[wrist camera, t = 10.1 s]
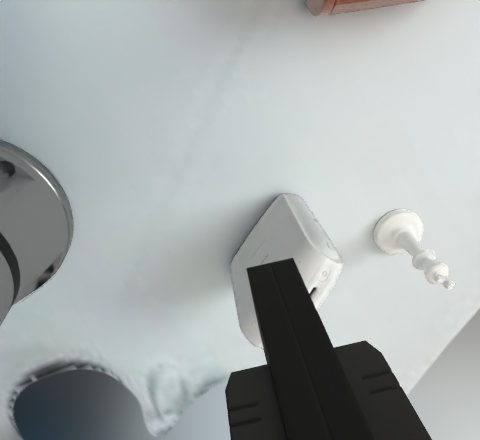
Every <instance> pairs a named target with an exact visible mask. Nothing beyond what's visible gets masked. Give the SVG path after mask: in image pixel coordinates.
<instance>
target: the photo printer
mask: <svg viewBox="0 0 480 440" xmlns="http://www.w3.org/2000/svg"><path fill="white" fill-rule="evenodd" d="M289 258H293V259H294V261H295V263H296V265H297V268H298V270H299V272H300V274H301V277H302V279H303V281H304V283H305V285H306V288H307V290H308V292H309V294H310V297H311V299H312V301H313V303H314V305H315V308H316V310H318V309H319V308H320V306H321V305H322V303H323V302H324V301H325V299H326V298H327V296H328V295H329V293H330V291H331V290H332V288H333V286H334V285H335V283H336V281H337V279H338V277H339V275H340V273H341V270H342V267H343V265H344V260H343V258H342V257H341V255H340V254H339V252H338V251H337V249H336V247H335V246H334V244H333V243H332V241H331V240H330V238H329V237H328V235H327V234H326V232H325V231H324V229H323V228H322V226H321V224H320V223H319V221H318V220H317V218H316V217H315V215H314V213H313V212H312V211H311V210H310V209H309V207H308V206H307V204H306V203H305V201H304V200H303V199H302V198H301V197H299V196H297V195H295V194H285V195H284V194H281V195H280V196H278V197H277V198H276V199H275V201H274V202H273V203H272V204H271V205H270V207H269V208H268V209H267V211H266V212H265V213H264V215H263V216H262V217H261V219H260V220H259V221H258V223H257V224H256V226H255V227H254V228H253V230H252V231H251V233H250V234H249V236H248V237H247V239H246V240H245V242H244V243H243V245H242V246H241V248H240V249H239V251H238V252H237V254H236V255H235V257H234V259H233V261H232V263H231V266H230V274H231V280H232V286H233V292H234V298H235V303H236V309H237V315H238V320H239V326H240V329H241V331H242V333H243V334H244V336H245V337H246V339H247V340H248V341H249V342H250V343H251V344H252V345H254V346H255V347H259V348H261V349H263V350H264V348H263V344H262V340H261V336H260V332H259V327H258V322H257V317H256V313H255V308H254V303H253V298H252V293H251V289H250V284H249V279H248V274H247V270H246V268H249V267H254V266H258V265H263V264H267V263H272V262H276V261H280V260H285V259H289Z"/></svg>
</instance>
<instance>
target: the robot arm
mask: <svg viewBox="0 0 480 440" xmlns="http://www.w3.org/2000/svg"><path fill="white" fill-rule="evenodd" d="M72 236H73V217H72V211H71V208H70V204H69V201H68V199H67V197H66V194H65V193H64V191H63V189H62V187H61V186H60V184H59V183H58V181H57V180H56V179H55V177H54V176H53V175H52V174H51V173H50V171H49V170H48V169H47V168H46V167H45V166H44V165H42V164H41V163H40V162H39V161H38V160H37V159H35V158H34V157H33V156H31V155H30V154H28V153H27V152H25V151H23V150H22V149H20V148H18V147H16V146H14V145H12V144H10V143H7V142H5V141H2V140H0V326H1V324H2V322H3V320H4V319H5V317H6V315H7V313H8V312H9V310H10V308H11V307H12V305H14V304H15V303H17V302H18V301H20V300H21V299H23V298H24V297H26V296H27V295H29V294H30V293H32V292H33V291H35V290H36V289H37V290H38V289H39V287H40V286H41V287H42V286H43V284H44V283H45V282H46V283H47V282H48V280H49V279H50V278H51V277H52V276H53V275H54V274H55V273H56V271H57V270H58V269H59V267H60V266H61V264H62V262H63V260H64V258H65V256H66V254H67V252H68V250H69V247H70V244H71V241H72ZM246 270H247V274H248V279H249V284H250V289H251V293H252V298H253V303H254V308H255V313H256V317H257V322H258V327H259V332H260V336H261V340H262V344H263V348H264V353H265V357H266V361H267V365H262V366H258V367H254V368H249V369H245V370H241V371H236V372H232V373H231V375H230V378H229V381H228V384H227V387H226V390H225V393H226V402H227V409H228V419H229V426H230V435H231V440H432V439H431V437H430V436H429V434H428V432H427V431H426V429H425V427H424V425H423V424H422V422H421V420H420V419H419V417H418V415H417V413H416V411H415V410H414V408H413V406H412V405H411V403H410V401H409V399H408V398H407V396H406V394H405V393H404V391H403V389H402V387H400V385H399V382H398V381H397V379H396V377H395V375H394V374H393V373H392V371H391V368H390V367H389V365H388V363H387V362H386V360H385V358H384V356H383V355H382V353H381V352H380V351H378V350H377V349H376V348H374V347H373V346H372V345H370V344H369V343H368V342H367V341H361V342H357V343H353V344H348V345H344V346H340V347H335V348H333V345H332V343H331V341H330V339H329V337H328V334H327V332H326V330H325V328H324V325H323V323H322V321H321V319H320V317H319V314H318V312H317V310H316V308H315V305H314V303H313V301H312V299H311V297H310V294H309V292H308V290H307V288H306V285H305V283H304V281H303V279H302V277H301V274H300V272H299V270H298V268H297V265H296V263H295V261H294V259H293V258H289V259H285V260H280V261H276V262H272V263H267V264H263V265H258V266H254V267H249V268H246ZM53 278H54V277H53ZM50 280H51V279H50ZM50 280H49V281H50ZM46 283H45V284H46ZM45 284H44V285H45ZM41 287H40V288H41ZM37 290H36V291H37ZM36 291H35V292H36ZM33 293H34V292H33ZM33 293H32V294H33ZM32 294H31V295H32ZM29 296H30V295H29ZM29 296H28V297H29ZM28 297H27V298H28ZM27 298H25V299H27ZM25 299H24V300H25ZM24 300H23V301H24ZM20 303H21V302H20Z"/></svg>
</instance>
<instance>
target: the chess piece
mask: <svg viewBox="0 0 480 440" xmlns="http://www.w3.org/2000/svg"><path fill="white" fill-rule="evenodd" d="M422 235H423V224H422V221H421V220H420V218H419V217H418V215H417V214H416V213H414V212H413V211H411V210H407V209H398V210H394V211H391V212H389V213H388V214H386V215H385V216H383V217H382V218H381V219H380V221H379V222H378V223H377V225H376V227H375V230H374V240H375V243H376V245H377V246H378V247H379V248H380V249H381V250H382V251H384V252H386V253H388V254H392V255H399V254H403V253H406V252H408V253H409V254H411V255H412V256H413V259H412V264H413V266H414V267H415V268H416V269H419V270H424V274H425V278H426V280H427V281H428V282H429V283H432V284H438V283H440V284H443V285H444V286H445V287H446V289H448V290H452V288H453V287H454V286H455V285H456V284H455V283H454V282H453V281H452V280H449V279H447V277H448V274H449V269H448V267H447V266H446V265H445V264H443V263H441V262H438V261H436V256H435V253H434V252H433V251H432V250H430V249H422V248H421V246H420V245H419V241H420V240H421V238H422Z"/></svg>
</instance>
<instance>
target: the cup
mask: <svg viewBox="0 0 480 440" xmlns="http://www.w3.org/2000/svg"><path fill="white" fill-rule="evenodd" d="M305 1H306V4H307V7H308V9H309V11H310V12H311V14H312V15H313V16H322V15H333V14H339V13H346V12H352V11H359V10H365V9H372V8H378V7H385V6H392V5H398V4H405V3H411V2H418V1H424V0H305Z"/></svg>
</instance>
